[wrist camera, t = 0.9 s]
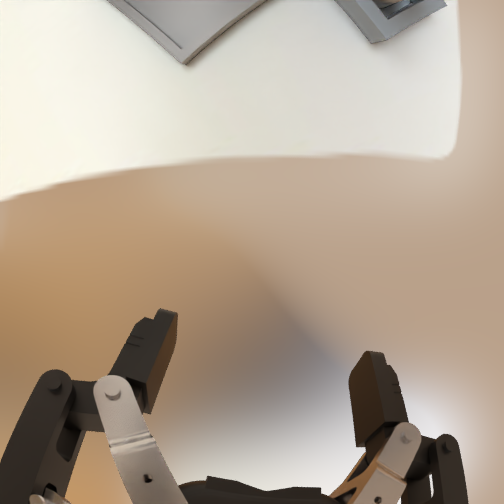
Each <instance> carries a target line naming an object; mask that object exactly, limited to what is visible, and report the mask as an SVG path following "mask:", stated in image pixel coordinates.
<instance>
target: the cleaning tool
mask: <svg viewBox="0 0 504 504" xmlns="http://www.w3.org/2000/svg"><path fill="white" fill-rule="evenodd" d="M372 1H373V2H374V3H375V4H376V6H377V7H378V8H384V7H387V6H389V5H392V4H394V3H397V2H399V1H402V0H372Z"/></svg>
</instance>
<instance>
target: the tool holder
mask: <svg viewBox="0 0 504 504" xmlns="http://www.w3.org/2000/svg"><path fill="white" fill-rule="evenodd" d="M335 1H336V2H337V3H338V4H339V5H340V6H341V8H342V9H343V10H344V11H345V12H346V13H347V14H348V16H349V17H350V18H351V19H352V20H353V21H354V23H355V24H356V25H357V26H358V27H359V29H360V30H361V31H362V32H363V34H364V35H365V36H366V38H367V39H368V40H369V41H370V43H375V42H380V41H385V40H388V39H389V38H391V37H392V36H394V35H396V34H397V33H399V32H401V31H402V30H404V29H406V28H407V27H409V26H411V25H413V24H414V23H416V22H418V21H420V20H421V19H423V18H425V17H427V16H428V15H430V14H432V13H434V12H436V11H438V10H440V9H441V8H443V7H445V6H447V5H446V3H445V2H444V0H410V1H411V2H412V3H411V4H409V5H407V6H405V7H404V8H402V9H400V10H398V11H396V12H394V13H393V14H391V15H389V16H387V17H385V16H384V14H383V13H382V12H381V10H380V9H379V8H378V7H377V6H376V4H375V3H374V2H373V1H372V0H335Z"/></svg>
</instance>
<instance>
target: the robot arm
mask: <svg viewBox="0 0 504 504" xmlns="http://www.w3.org/2000/svg"><path fill="white" fill-rule="evenodd" d="M177 320H178V314H177V313H176V312H172V311H168V310H164V309H161V308H160V309H159V310H158V311H157V313H156V315H155V317H154V319H149V318H146V317H144V318H143V319H142V320H140V321H139V322H138V323H136V324H135V326H134V328H133V330H132V332H131V333H130V336H129V337H128V339H127V341H126V344H124V347H123V348H122V350H121V352H120V354H119V356H118V358H117V360H116V362H115V363H114V365H113V367H112V369H111V371H110V373H109V374H108V375H107V376H104V377H102V378H101V379H99V380H98V381H92V382H87V381H77V380H71V378H70V377H69V375H68V374H67V373H65V372H63V371H61V370H50V371H47V372H45V373H44V374H43V375H42V376H41V377H40V379H39V381H38V382H37V384H36V386H35V388H34V390H33V392H32V394H31V396H30V398H29V400H28V401H27V403H26V406H25V408H24V410H23V412H22V414H21V416H20V418H19V420H18V422H17V424H16V427H15V429H14V431H13V433H12V435H11V438H10V440H9V442H8V445H7V447H6V450H5V452H4V454H3V457H2V459H1V462H0V504H71V503H70V502H69V501H68V500H67V499H65V494H66V491H67V487H68V484H69V481H70V477H71V474H72V471H73V468H74V465H75V462H76V459H77V456H78V453H79V450H80V447H81V445H82V442H83V439H84V436H85V433H86V431H96V432H105V433H106V436H107V439H108V442H109V447H110V450H111V453H112V456H113V458H114V461H115V464H116V466H117V469H118V471H119V474H120V476H121V478H122V480H123V483H124V485H125V487H126V490H127V492H128V494H129V496H130V498H131V500H132V502H133V504H397V502H398V500H399V498H400V497H401V504H468V496H467V489H466V482H465V476H464V470H463V465H462V459H461V454H460V449H459V445H458V442H457V440H456V439H455V438H454V437H453V436H451V435H449V434H443V435H441V436H439V437H438V438H437V439H433V438H429V437H425V436H422V435H421V434H420V431H419V430H418V428H417V427H416V426H415V425H413V424H411V423H409V421H408V417H407V412H406V408H405V404H404V400H403V397H402V394H401V389H400V386H399V381H398V378H397V374H396V373H395V372H394V370H393V368H392V367H391V366H390V365H387V363H386V360H385V357H384V354H383V353H381V352H373V351H366V352H364V354H363V355H362V357H361V358H360V360H359V361H358V363H357V364H356V366H355V367H354V369H353V370H352V372H351V374H350V376H349V391H350V399H351V406H352V414H353V422H354V431H355V441H356V447H365V448H366V452H365V453H364V454H363V455H362V456H361V458H360V459H359V461H358V462H357V464H356V465H355V466H354V468H353V469H352V471H351V472H350V473H349V475H348V476H347V478H346V479H345V480H344V482H343V483H342V484H341V485H340V486H339V487H338V488H337V489H336V490H334V492H332V493H331V495H329V496H327V495H324V494H321V488H316V487H291V488H285V489H279V490H272V491H263V490H260V489H257V488H254V487H252V486H249V485H246V484H243V483H241V482H238V481H234V480H228V479H222V478H216V477H211V476H207V479H206V481H192V482H188V483H184V484H181V485H179V486H178V485H177V483H176V481H175V479H174V477H173V476H172V474H171V472H170V470H169V468H168V466H167V464H166V462H165V460H164V458H163V456H162V454H161V452H160V450H159V448H158V446H157V444H156V442H155V440H154V438H153V436H151V434H150V432H149V430H148V428H147V426H146V423H145V421H144V418H143V416H142V415H143V412H144V413H148V414H151V412H152V409H153V406H154V403H155V400H156V397H157V395H158V392H159V389H160V386H161V384H162V381H163V378H164V376H165V373H166V370H167V367H168V365H169V362H170V359H171V357H172V354H173V351H174V348H175V344H176V338H177V337H176V336H177ZM431 474H432V480H433V489H434V493H433V497H432V498H431V488H430V479H429V475H431Z"/></svg>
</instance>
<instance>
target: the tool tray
mask: <svg viewBox="0 0 504 504" xmlns="http://www.w3.org/2000/svg"><path fill="white" fill-rule="evenodd" d="M107 1H108V2H110V3H111V4H112V5H113V6H115V7H116V8H117V9H118V10H120V11H121V12H122V13H123V14H125V15H126V16H127V17H128V18H130V19H131V20H132V21H133V22H134V23H136V24H137V25H138V26H139V27H140V28H142V29H143V30H144V31H145V32H146V33H147V34H149V35H150V36H151V37H152V38H153V39H154V40H155V41H157V42H158V43H159V44H160V45H161V46H162V47H163V48H164V49H166V50H167V51H168V52H169V53H170V54H171V55H172V56H173V57H174V58H175V59H177V60H178V61H179V62H180V63H181V64H185V65H186V64H187V63H188V62H189V61H191V60H192V59H193V58H194V57H195V56H196V55H197V54H198V53H199V52H201V51H202V50H203V49H204V48H205V47H206V46H208V45H209V44H210V43H211V42H212V41H213V40H215V39H216V38H217V37H218V36H220V35H221V34H222V33H223V32H225V31H226V30H227V29H228V28H230V27H231V26H232V25H233V24H235V23H236V22H237V21H239V20H240V19H241V18H243V17H244V16H245V15H247V14H248V13H250V12H251V11H252V10H254V9H255V8H257V7H258V6H259V5H261V4H262V3H264V2H265V1H267V0H107Z"/></svg>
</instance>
